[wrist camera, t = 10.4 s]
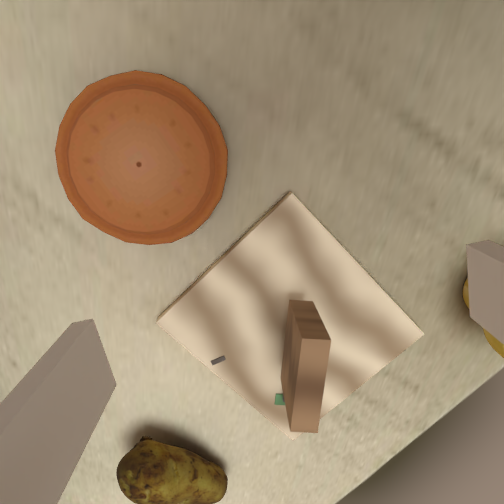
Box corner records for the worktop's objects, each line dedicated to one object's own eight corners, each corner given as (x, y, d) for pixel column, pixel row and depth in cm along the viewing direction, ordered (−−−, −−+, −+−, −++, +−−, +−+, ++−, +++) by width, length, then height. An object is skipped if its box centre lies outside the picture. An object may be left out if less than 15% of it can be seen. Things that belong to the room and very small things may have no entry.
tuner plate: (290, 191, 41) (292, 193, 40) (418, 327, 46) (425, 334, 44) (158, 317, 44) (155, 323, 43) (291, 432, 49) (293, 442, 48)
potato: (183, 501, 52) (174, 564, 44) (118, 435, 49) (96, 491, 41) (235, 469, 51) (236, 528, 43) (172, 399, 48) (160, 450, 40)
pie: (72, 64, 37) (47, 54, 32) (237, 90, 38) (237, 84, 34) (69, 225, 41) (47, 237, 37) (218, 244, 43) (216, 258, 38)
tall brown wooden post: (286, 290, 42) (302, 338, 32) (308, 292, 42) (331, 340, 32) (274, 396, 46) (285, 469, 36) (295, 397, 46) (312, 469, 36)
